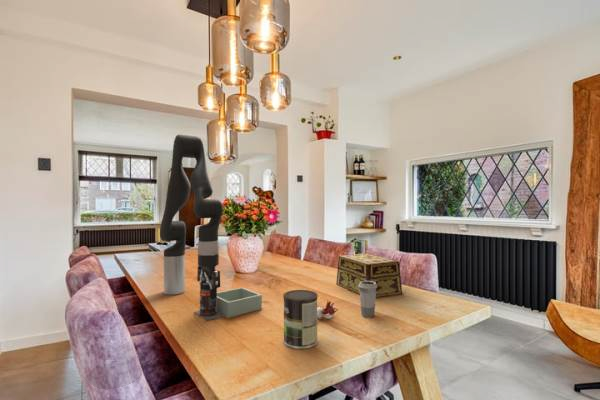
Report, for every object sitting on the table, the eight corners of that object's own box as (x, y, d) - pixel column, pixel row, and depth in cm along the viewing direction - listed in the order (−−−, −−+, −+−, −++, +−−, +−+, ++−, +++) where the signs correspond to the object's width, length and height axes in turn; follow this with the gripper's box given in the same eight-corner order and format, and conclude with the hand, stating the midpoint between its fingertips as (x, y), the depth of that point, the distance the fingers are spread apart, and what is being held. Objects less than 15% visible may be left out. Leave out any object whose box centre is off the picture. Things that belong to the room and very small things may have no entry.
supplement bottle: (219, 311, 121) (219, 281, 121) (210, 317, 116) (210, 285, 116) (206, 310, 123) (206, 280, 123) (196, 315, 118) (196, 284, 118)
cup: (366, 319, 113) (365, 285, 113) (354, 314, 119) (354, 281, 119) (381, 316, 116) (381, 283, 117) (369, 311, 122) (369, 279, 122)
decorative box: (402, 294, 144) (402, 261, 145) (368, 299, 137) (368, 264, 137) (366, 281, 170) (366, 252, 170) (336, 284, 162) (335, 255, 162)
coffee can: (284, 350, 90) (283, 300, 91) (283, 335, 101) (282, 290, 101) (320, 348, 91) (319, 299, 91) (315, 333, 102) (315, 289, 102)
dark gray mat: (193, 313, 121) (193, 311, 121) (210, 309, 125) (210, 308, 125) (206, 321, 113) (206, 319, 113) (223, 316, 117) (223, 315, 117)
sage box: (210, 307, 127) (210, 294, 127) (242, 300, 136) (242, 287, 137) (228, 317, 116) (228, 302, 116) (261, 308, 125) (261, 294, 126)
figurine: (350, 319, 113) (350, 301, 113) (327, 328, 106) (327, 308, 106) (320, 309, 125) (320, 292, 125) (297, 316, 117) (297, 298, 117)
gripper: (190, 251, 122) (190, 293, 122) (207, 256, 112) (207, 303, 112) (209, 249, 127) (209, 290, 127) (226, 254, 116) (226, 298, 117)
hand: (208, 296), depth 119 cm, fingers open, 8 cm apart
